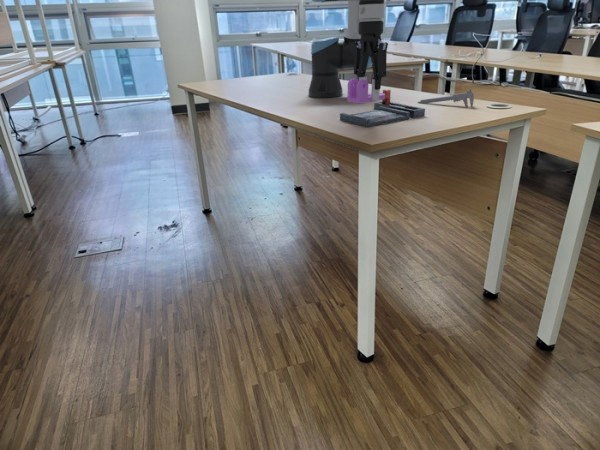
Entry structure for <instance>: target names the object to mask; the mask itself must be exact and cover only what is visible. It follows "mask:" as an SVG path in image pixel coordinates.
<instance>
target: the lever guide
mask: <svg viewBox="0 0 600 450" xmlns="http://www.w3.org/2000/svg"><path fill="white" fill-rule="evenodd" d="M392 105H395V106H392ZM373 106H374V107H373V110H378V109H379V107H380V106H382V107H387V108H392V109H397V110H402V111H406V112H410V116H409V118H413V119H417V118H420V117H421V118H422V117H425V115H426V114H425V113H426V108H424V107H423V108H422V107H417V106H412V105H407V104H403V103H397V102H392V101H390V105H387V104H382V100H380V101H377V102H376V101H374V105H373ZM397 106H400V107H397ZM402 107H405V108H402Z"/></svg>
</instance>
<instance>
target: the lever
mask: <svg viewBox="0 0 600 450" xmlns="http://www.w3.org/2000/svg"><path fill="white" fill-rule="evenodd" d="M382 93H383V94H385V99H383V100H381V101H382V104H387V105H390V102H391V93H392V92H391V89H383V90H382ZM392 106H395V105H392ZM397 107H400V106H397ZM402 108H405V107H402Z"/></svg>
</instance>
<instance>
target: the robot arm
mask: <svg viewBox="0 0 600 450" xmlns="http://www.w3.org/2000/svg"><path fill="white" fill-rule="evenodd" d="M311 1H312V2H314V3H328V2H329V3H330V2H344V1H345V2H347V3H348V4H347V31H346V32H345V33H344V34H343V39H341V40H340V38H339V36H332V37H327V38H325V37H324V38H321V39H317V40H314V41H313V42H312V43H311V49H310V50H311V52H310V54H311V80H310V83H309V87H308V96H309V97H312V98H324V99H325V98H334V97H340V96H343V87H342V83H341V80H340V75H339V72H340V71H339V70H353V75H356V76H357V79H358V81H359V80H361V79H362V80H367V81H368V77H367V73H366V72H367V69H368V68H370V67H371V68H372V73H373V77H372V78H371V92H370V93H371V100H377V101H380V100H379V93H381V92H380V91H381V86H382V78H385V77H387V58H388V57H387V52H388V51H387V50H388V46H389V44H388V42H387V41H386V42H385V41H383V40H382V37H381V35H382V34H384V20H383V19H384V18H385V0H311ZM362 86H363V85H362Z"/></svg>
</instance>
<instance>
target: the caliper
mask: <svg viewBox="0 0 600 450" xmlns="http://www.w3.org/2000/svg"><path fill="white" fill-rule="evenodd" d="M468 99H469V102H468ZM474 99H475V97H474V91H472V88H470V89H466V92H461V93H456V94H455V93H454V94H452V95H448V96H441V97H433V98H426V99H425V98H424V99H420V101H418V102H417V104H424V103H425V104H432V103H433V104H434V103H439V102H440V103H441V102H448V101H453V103H456V102H457V103H458V102H461V101H462V102H463V103H464V107H468V103H470V107H473V106H474Z"/></svg>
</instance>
